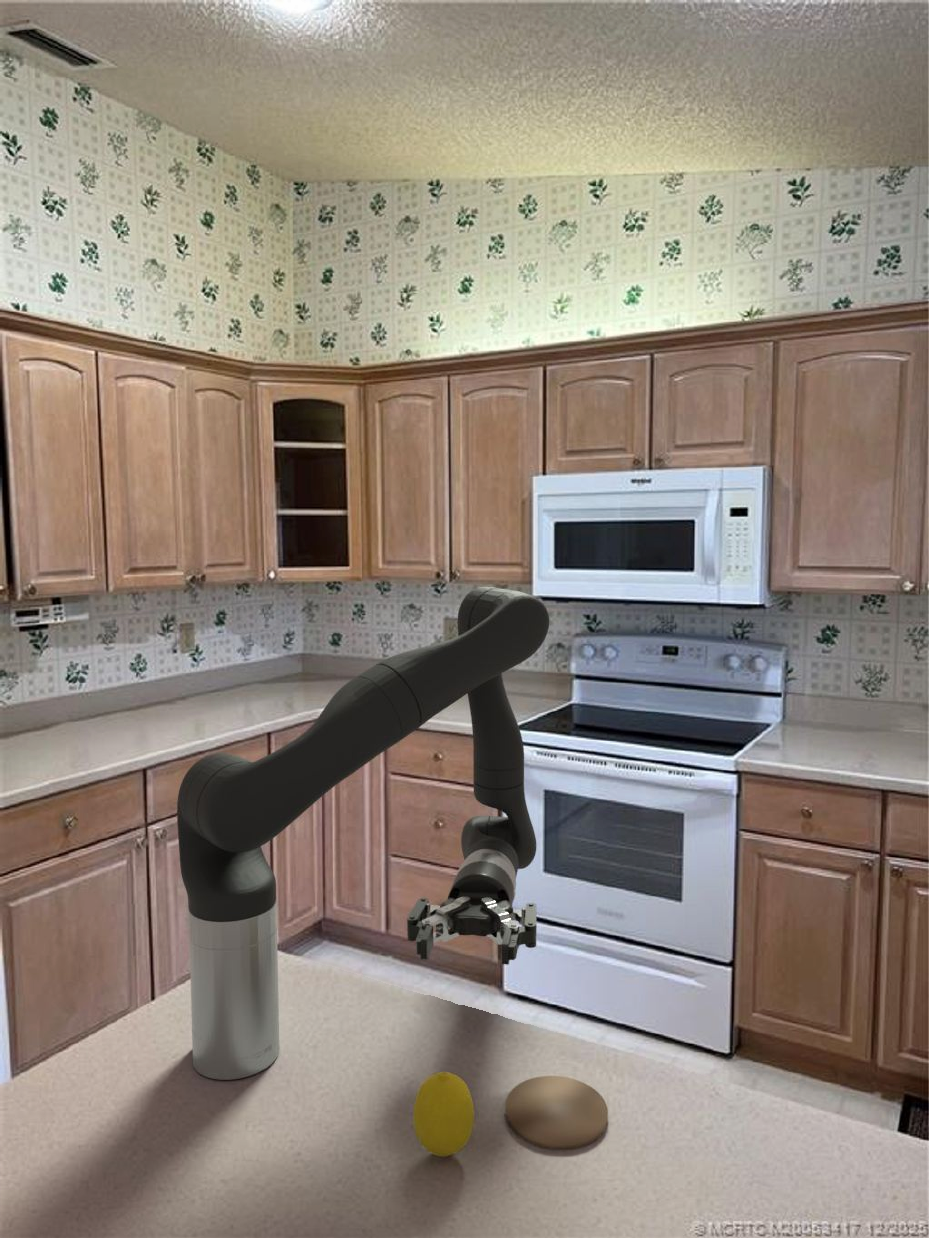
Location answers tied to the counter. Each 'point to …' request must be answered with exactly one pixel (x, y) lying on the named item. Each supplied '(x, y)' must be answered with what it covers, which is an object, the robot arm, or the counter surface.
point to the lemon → (443, 1114)
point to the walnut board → (556, 1112)
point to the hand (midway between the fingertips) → (464, 953)
